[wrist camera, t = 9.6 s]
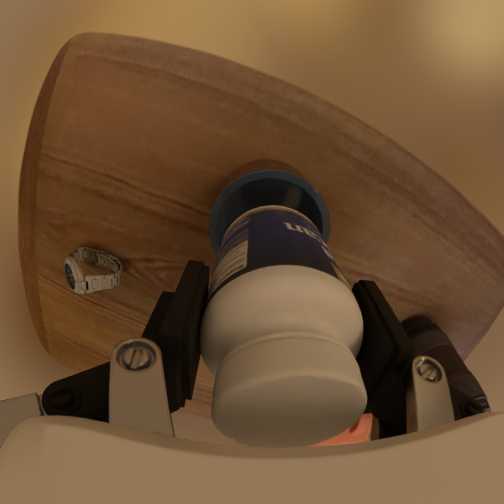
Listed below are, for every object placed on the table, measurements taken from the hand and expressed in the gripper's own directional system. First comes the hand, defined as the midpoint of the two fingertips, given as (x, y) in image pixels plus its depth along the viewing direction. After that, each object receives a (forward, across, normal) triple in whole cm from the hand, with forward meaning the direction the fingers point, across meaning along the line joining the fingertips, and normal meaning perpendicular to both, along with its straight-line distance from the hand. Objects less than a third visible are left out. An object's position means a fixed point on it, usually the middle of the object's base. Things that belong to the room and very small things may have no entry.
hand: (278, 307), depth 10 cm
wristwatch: (+13, +15, +7) cm, 21 cm away
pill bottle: (+5, 0, 0) cm, 5 cm away
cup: (+13, 0, 0) cm, 13 cm away
